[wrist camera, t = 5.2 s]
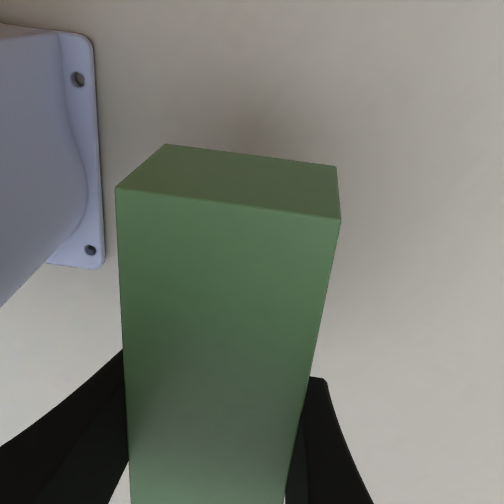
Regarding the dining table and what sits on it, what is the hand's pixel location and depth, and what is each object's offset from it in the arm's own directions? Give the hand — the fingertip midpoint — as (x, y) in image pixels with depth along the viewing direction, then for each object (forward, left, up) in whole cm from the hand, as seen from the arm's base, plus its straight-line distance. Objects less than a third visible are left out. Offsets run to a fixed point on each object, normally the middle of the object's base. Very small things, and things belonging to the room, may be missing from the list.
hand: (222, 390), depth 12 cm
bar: (0, 0, -1) cm, 1 cm away
